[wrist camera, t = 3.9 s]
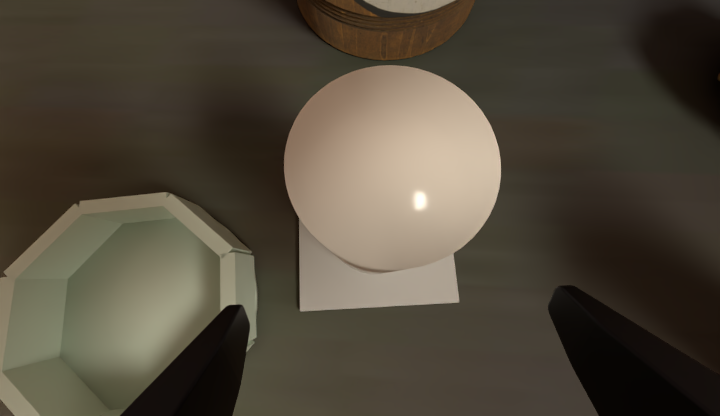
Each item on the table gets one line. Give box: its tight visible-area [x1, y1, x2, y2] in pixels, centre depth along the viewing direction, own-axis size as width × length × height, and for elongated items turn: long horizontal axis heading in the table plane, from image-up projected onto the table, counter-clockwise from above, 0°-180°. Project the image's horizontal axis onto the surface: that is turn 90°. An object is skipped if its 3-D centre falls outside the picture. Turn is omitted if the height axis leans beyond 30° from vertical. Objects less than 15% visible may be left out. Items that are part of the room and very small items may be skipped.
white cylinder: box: [284, 65, 501, 274], centre depth 14 cm, size 6×6×12 cm
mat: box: [299, 218, 459, 311], centre depth 20 cm, size 10×10×1 cm
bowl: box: [0, 192, 258, 416], centre depth 18 cm, size 13×13×4 cm
